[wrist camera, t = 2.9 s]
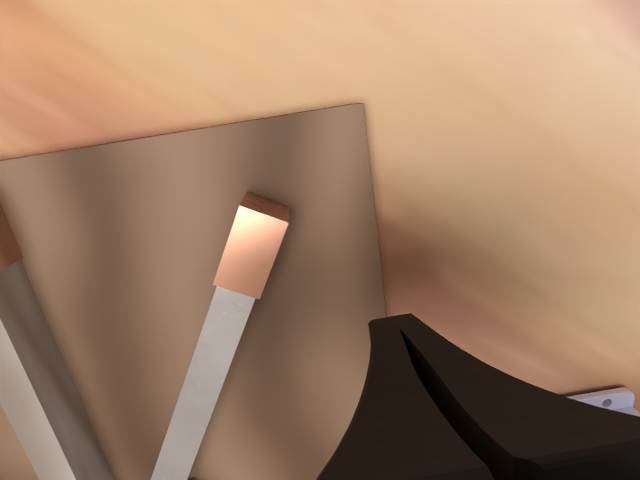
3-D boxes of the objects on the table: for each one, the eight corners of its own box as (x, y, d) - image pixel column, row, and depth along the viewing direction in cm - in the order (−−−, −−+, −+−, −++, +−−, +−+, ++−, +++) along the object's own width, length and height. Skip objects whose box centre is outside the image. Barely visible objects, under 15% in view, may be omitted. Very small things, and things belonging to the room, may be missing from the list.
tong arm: (188, 474, 19) (176, 517, 17) (153, 466, 19) (136, 508, 17) (289, 207, 15) (288, 223, 13) (246, 191, 15) (239, 205, 13)
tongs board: (357, 103, 16) (382, 103, 11) (396, 451, 22) (424, 543, 17) (-203, 193, 16) (-405, 230, 11) (-9, 520, 22) (-90, 631, 17)
